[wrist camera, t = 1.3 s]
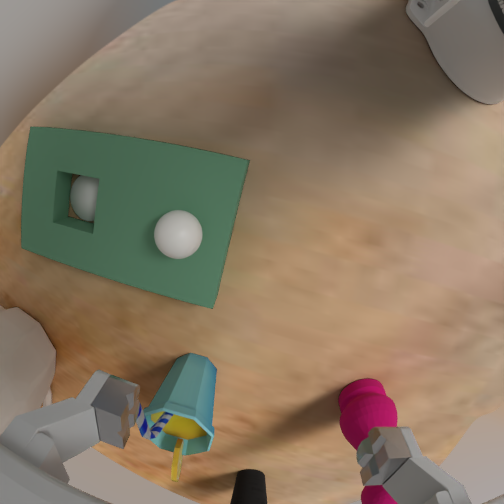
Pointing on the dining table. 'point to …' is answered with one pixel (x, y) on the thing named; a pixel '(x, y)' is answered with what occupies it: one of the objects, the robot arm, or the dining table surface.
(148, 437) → the cup
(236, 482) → the drinking cup
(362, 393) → the pepper mill
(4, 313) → the watering can
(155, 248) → the putting mat
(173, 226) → the ball
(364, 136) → the dining table surface
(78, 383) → the dining table surface
